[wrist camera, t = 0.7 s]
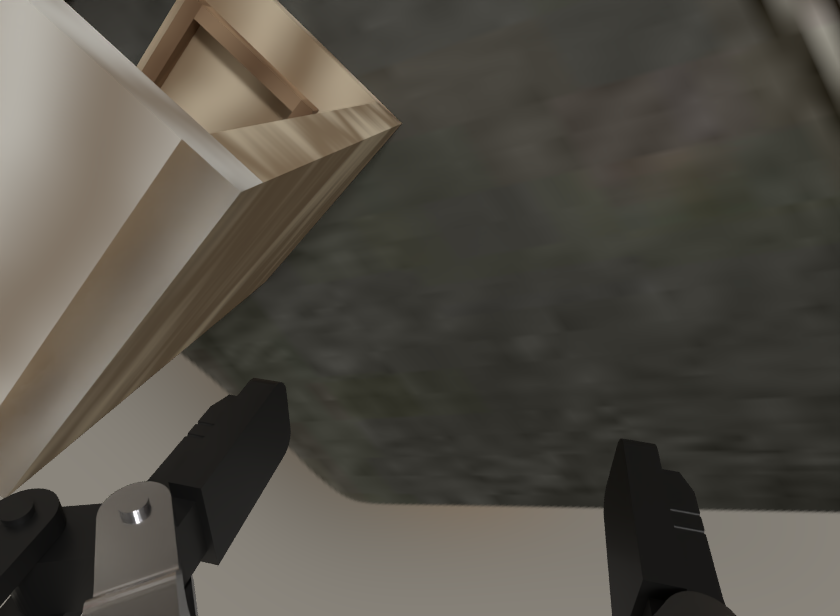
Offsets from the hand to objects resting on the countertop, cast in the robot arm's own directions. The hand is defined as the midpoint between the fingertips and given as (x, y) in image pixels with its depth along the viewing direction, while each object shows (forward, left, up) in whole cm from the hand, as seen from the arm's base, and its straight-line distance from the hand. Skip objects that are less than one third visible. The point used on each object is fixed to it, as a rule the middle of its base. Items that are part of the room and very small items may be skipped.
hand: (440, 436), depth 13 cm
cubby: (-9, -15, -28) cm, 33 cm away
